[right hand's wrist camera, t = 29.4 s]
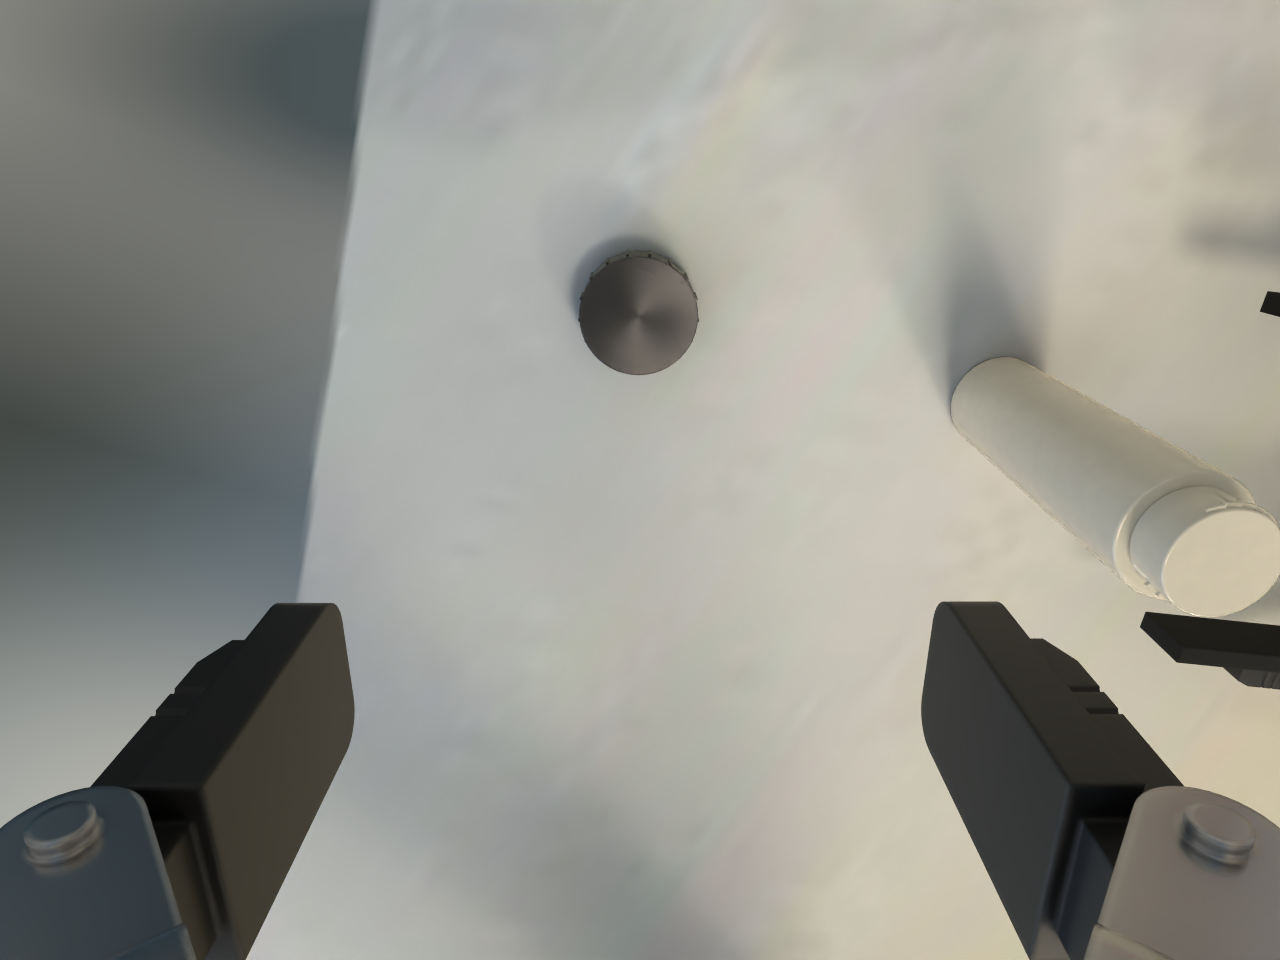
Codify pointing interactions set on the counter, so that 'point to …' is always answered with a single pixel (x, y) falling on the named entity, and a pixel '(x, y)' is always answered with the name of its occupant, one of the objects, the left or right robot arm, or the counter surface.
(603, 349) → the lid
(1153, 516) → the jar
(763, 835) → the counter surface
